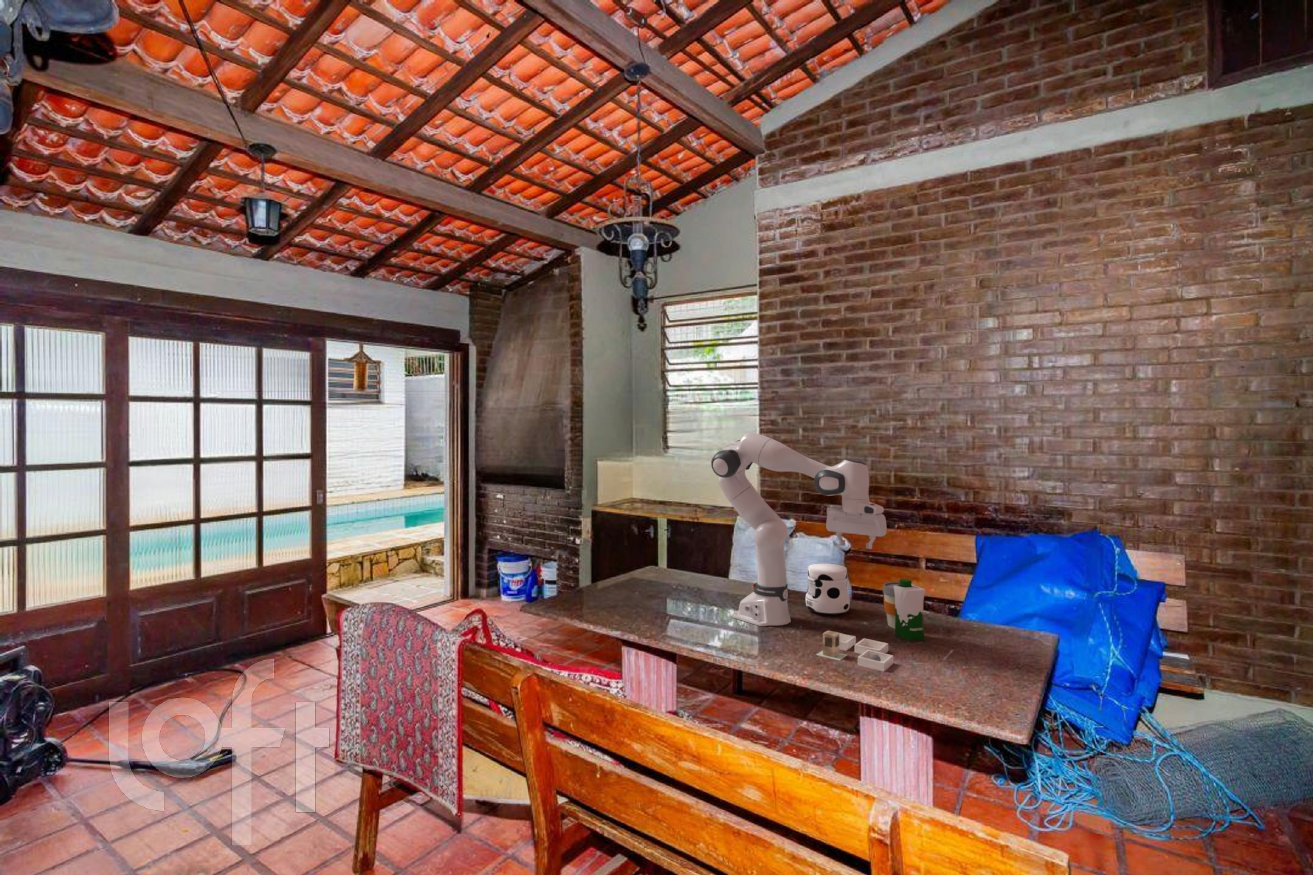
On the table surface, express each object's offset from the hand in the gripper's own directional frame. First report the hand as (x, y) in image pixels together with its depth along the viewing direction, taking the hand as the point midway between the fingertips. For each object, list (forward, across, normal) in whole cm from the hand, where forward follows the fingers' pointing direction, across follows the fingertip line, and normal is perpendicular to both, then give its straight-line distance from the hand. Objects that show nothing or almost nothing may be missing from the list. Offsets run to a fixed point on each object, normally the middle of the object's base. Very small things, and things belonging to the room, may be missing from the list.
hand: (855, 546), depth 212 cm
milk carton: (+34, +12, +19) cm, 41 cm away
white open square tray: (+34, -4, -4) cm, 34 cm away
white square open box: (+34, +12, -14) cm, 39 cm away
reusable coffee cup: (+34, +5, +31) cm, 46 cm away
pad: (+34, -2, -15) cm, 37 cm away
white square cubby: (+34, +7, -4) cm, 35 cm away
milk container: (+34, -24, +30) cm, 52 cm away
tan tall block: (+33, -2, -15) cm, 37 cm away
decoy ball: (+32, +12, -14) cm, 37 cm away
